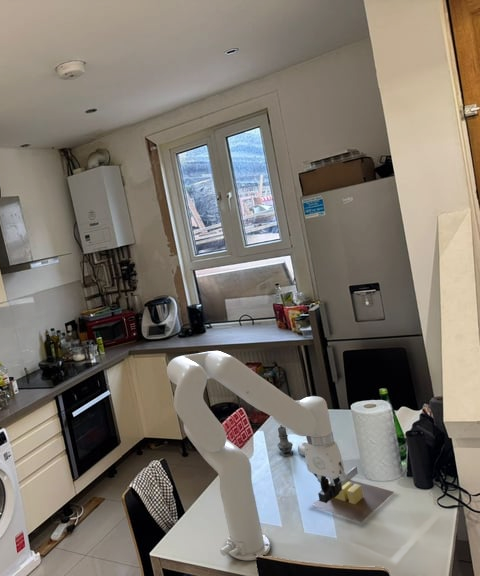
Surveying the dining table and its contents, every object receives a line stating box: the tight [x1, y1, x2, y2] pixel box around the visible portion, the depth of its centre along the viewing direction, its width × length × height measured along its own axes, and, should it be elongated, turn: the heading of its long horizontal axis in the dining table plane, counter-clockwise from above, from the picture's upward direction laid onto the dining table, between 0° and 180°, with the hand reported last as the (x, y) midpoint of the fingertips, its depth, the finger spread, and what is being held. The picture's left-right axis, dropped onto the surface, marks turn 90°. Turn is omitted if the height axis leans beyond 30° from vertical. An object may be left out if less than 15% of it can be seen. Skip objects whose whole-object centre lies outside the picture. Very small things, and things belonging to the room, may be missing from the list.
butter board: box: [311, 479, 394, 523], centre depth 161 cm, size 20×16×1 cm
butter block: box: [328, 480, 352, 501], centre depth 164 cm, size 5×6×4 cm
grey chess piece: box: [276, 425, 294, 457], centre depth 201 cm, size 6×6×12 cm
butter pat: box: [347, 484, 363, 504], centre depth 160 cm, size 5×2×4 cm, turn 124°
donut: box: [297, 440, 306, 457], centre depth 198 cm, size 10×4×10 cm
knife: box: [317, 466, 359, 503], centre depth 158 cm, size 20×2×3 cm, turn 124°
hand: (331, 493), depth 155 cm, fingers closed on knife, 2 cm apart
